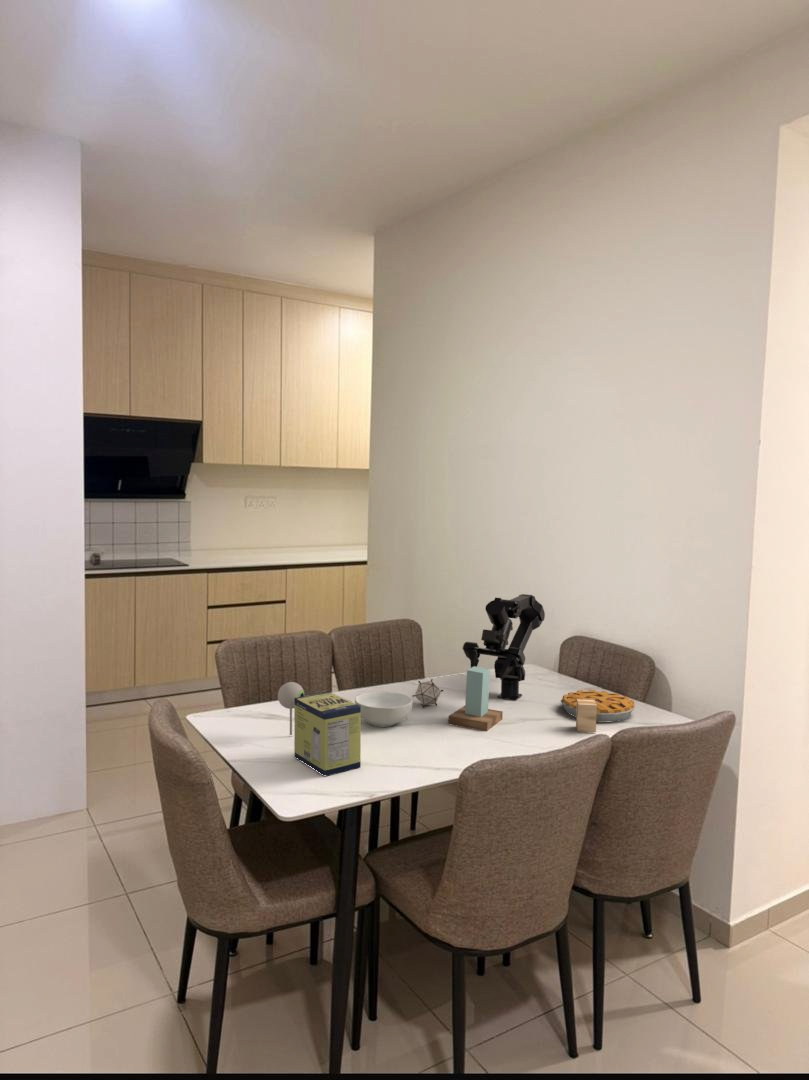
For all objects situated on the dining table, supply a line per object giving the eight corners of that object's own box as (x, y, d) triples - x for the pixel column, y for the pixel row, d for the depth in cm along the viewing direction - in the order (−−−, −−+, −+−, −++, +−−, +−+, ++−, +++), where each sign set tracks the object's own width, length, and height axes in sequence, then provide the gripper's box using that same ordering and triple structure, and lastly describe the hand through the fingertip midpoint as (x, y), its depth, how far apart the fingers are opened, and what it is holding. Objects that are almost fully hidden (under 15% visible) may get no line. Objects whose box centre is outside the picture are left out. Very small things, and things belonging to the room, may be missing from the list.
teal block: (472, 709, 224) (474, 666, 222) (487, 712, 221) (489, 669, 220) (464, 713, 220) (467, 670, 218) (480, 717, 217) (482, 673, 216)
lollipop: (296, 742, 201) (296, 687, 200) (272, 738, 204) (272, 684, 203) (308, 734, 208) (308, 680, 207) (285, 730, 211) (285, 677, 209)
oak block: (576, 726, 217) (576, 699, 217) (593, 727, 217) (594, 700, 216) (577, 732, 212) (578, 704, 212) (595, 733, 212) (596, 705, 211)
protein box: (328, 749, 197) (329, 690, 196) (361, 767, 184) (362, 705, 183) (293, 757, 191) (293, 697, 189) (324, 777, 178) (324, 712, 177)
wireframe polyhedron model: (421, 718, 235) (402, 693, 234) (432, 702, 242) (414, 677, 241) (442, 709, 230) (422, 683, 229) (452, 693, 236) (433, 668, 236)
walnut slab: (465, 714, 229) (465, 705, 228) (502, 721, 223) (502, 711, 223) (448, 725, 218) (448, 715, 218) (487, 733, 213) (487, 722, 212)
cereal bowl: (405, 734, 209) (406, 709, 208) (347, 729, 212) (347, 705, 212) (417, 715, 226) (417, 692, 225) (363, 711, 229) (363, 688, 228)
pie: (602, 729, 216) (603, 712, 215) (546, 710, 233) (546, 694, 233) (649, 716, 229) (650, 699, 228) (592, 698, 246) (593, 683, 246)
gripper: (465, 615, 234) (450, 658, 225) (523, 622, 225) (510, 666, 217) (474, 636, 241) (460, 678, 233) (530, 642, 233) (518, 686, 224)
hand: (486, 677), depth 226 cm, fingers open, 9 cm apart
